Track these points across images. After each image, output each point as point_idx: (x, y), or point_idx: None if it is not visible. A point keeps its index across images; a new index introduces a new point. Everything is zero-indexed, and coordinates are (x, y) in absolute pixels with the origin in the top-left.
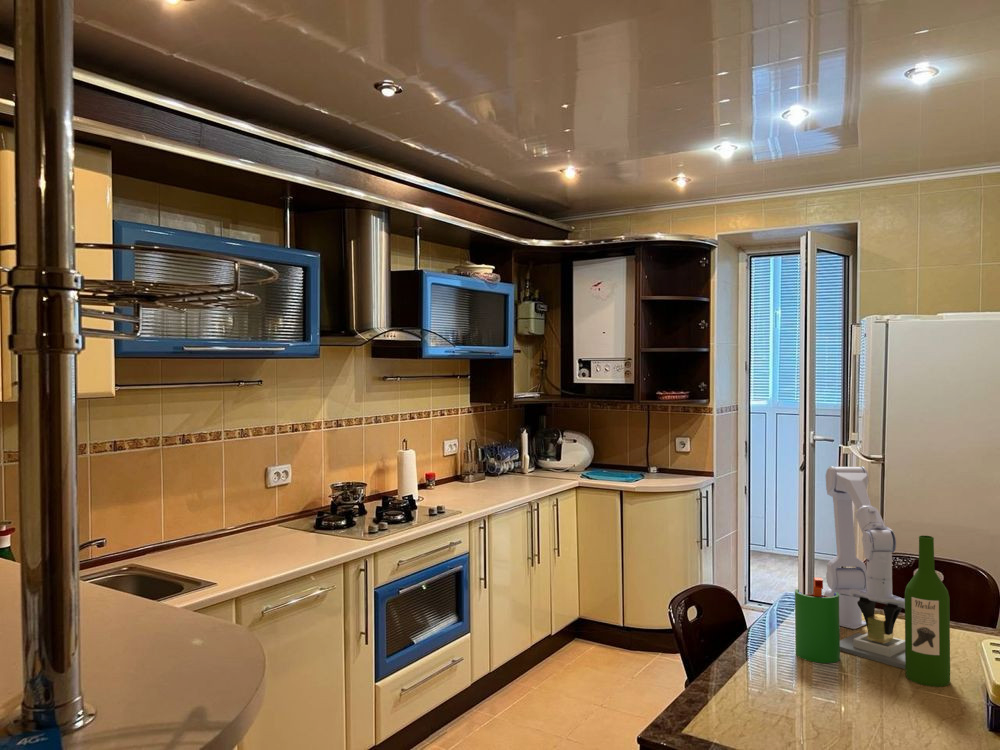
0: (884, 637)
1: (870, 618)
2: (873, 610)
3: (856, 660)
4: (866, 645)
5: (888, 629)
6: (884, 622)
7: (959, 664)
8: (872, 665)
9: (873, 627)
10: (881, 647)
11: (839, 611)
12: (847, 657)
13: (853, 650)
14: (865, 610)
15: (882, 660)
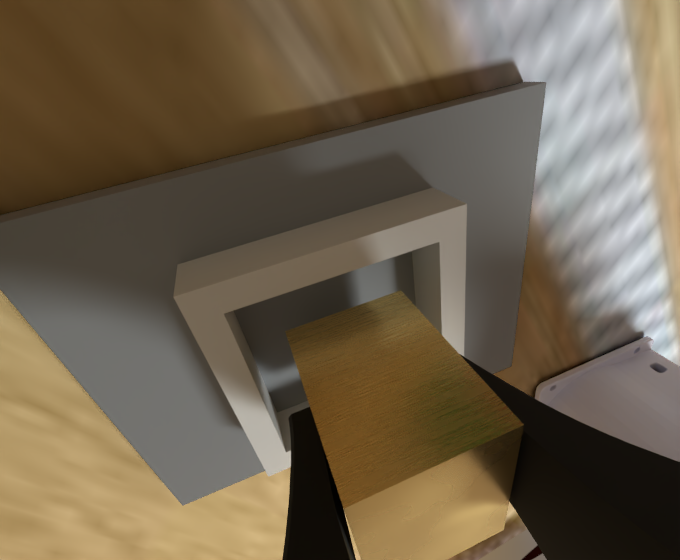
0: (298, 371)
1: (491, 434)
2: (548, 546)
3: (290, 16)
4: (360, 227)
5: (291, 455)
6: (341, 499)
7: (18, 541)
8: (138, 34)
9: (410, 377)
10: (246, 270)
11: (647, 406)
12: (369, 11)
13: (395, 124)
14: (619, 488)
15: (162, 177)
